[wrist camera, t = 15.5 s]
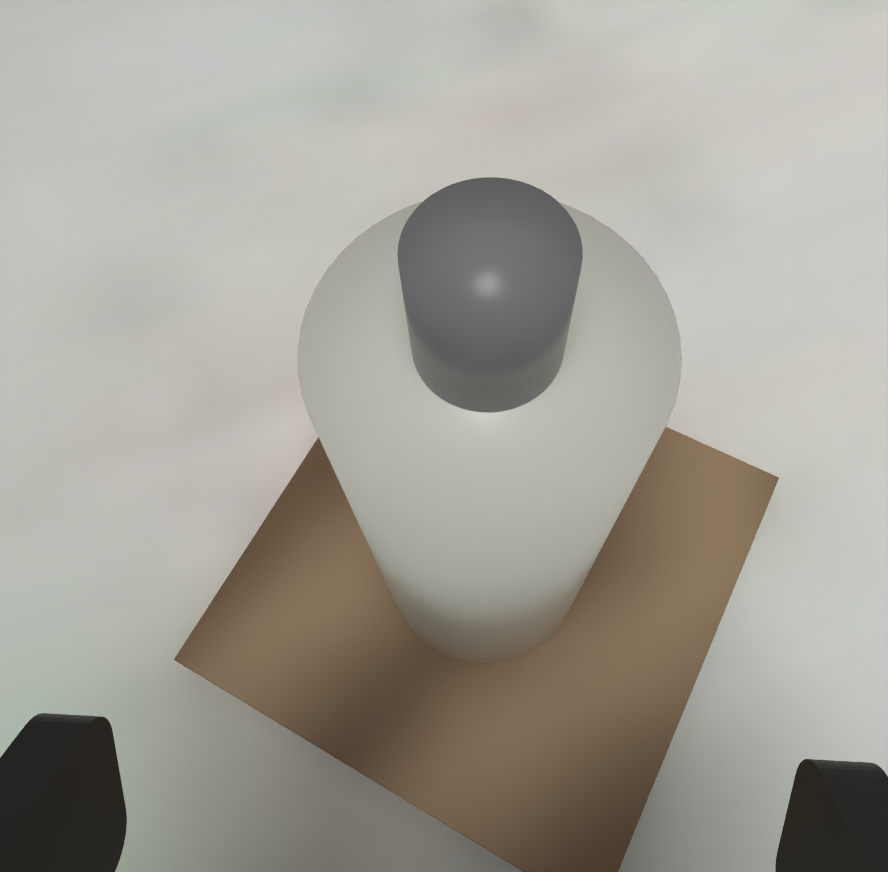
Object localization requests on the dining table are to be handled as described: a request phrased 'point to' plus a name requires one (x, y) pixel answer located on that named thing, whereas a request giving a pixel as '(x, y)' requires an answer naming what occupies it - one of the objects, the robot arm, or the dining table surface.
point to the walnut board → (498, 684)
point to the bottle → (488, 404)
